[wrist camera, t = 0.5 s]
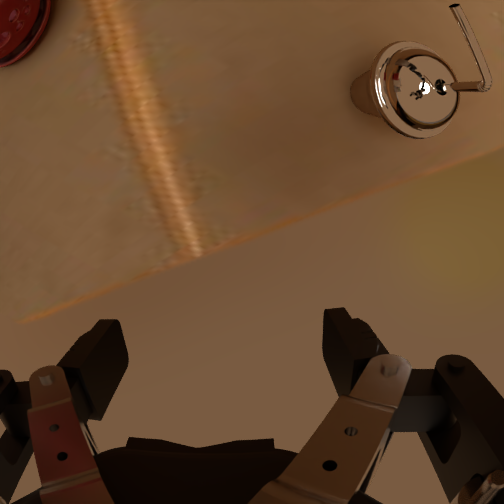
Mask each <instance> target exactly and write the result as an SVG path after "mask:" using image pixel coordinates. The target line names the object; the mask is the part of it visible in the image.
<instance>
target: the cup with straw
mask: <svg viewBox="0 0 504 504" xmlns="http://www.w3.org/2000/svg"><path fill="white" fill-rule="evenodd" d="M449 8H450V9H451V11H452V13H453V15H454V17H455V19H456V21H457V23H458V25H459V27H460V29H461V31H462V33H463V35H464V37H465V39H466V42H467V44H468V46H469V48H470V51H471V53H472V55H473V58H474V60H475V62H476V65H477V67H478V70H479V73H480V75H481V78H482V80H481V81H470V82H458V80H457V78H456V75H455V74H454V72H453V70H452V69H451V67H450V66H449V65H448V64H447V63H446V62H445V61H444V60H443V59H442V58H441V57H440V56H439V55H438V54H437V53H436V52H435V51H433V50H432V49H430V48H429V47H427V46H426V45H423V44H420V43H418V42H412V41H397V42H394V43H391V44H389V45H387V46H385V47H384V48H382V49H381V51H380V52H379V53H378V54H377V55H376V57H375V59H374V61H373V63H372V66H371V69H370V70H368V71H367V72H365V73H363V74H362V75H360V76H359V77H357V78H356V79H355V80H354V81H353V83H352V85H351V88H350V96H351V100H352V102H353V104H354V105H355V107H356V108H357V109H358V110H360V111H361V112H363V113H366V114H369V115H373V116H376V117H380V118H382V119H383V120H384V121H385V122H386V123H387V124H388V125H389V126H390V127H391V128H392V129H393V130H395V131H396V132H397V133H399V134H401V135H403V136H405V137H409V138H413V139H424V138H429V137H433V136H435V135H437V134H440V133H441V132H442V131H443V130H445V129H446V128H447V126H448V125H449V124H450V122H451V120H452V118H453V116H454V114H455V113H456V111H457V109H458V106H459V102H460V92H486V91H487V90H489V89H490V87H491V85H492V77H491V74H490V71H489V68H488V66H487V63H486V61H485V58H484V55H483V53H482V51H481V48H480V46H479V44H478V41H477V39H476V37H475V34H474V32H473V30H472V28H471V26H470V24H469V22H468V20H467V18H466V16H465V14H464V12H463V10H462V8H461V6H460V4H452V5H450V6H449Z"/></svg>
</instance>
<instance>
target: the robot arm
mask: <svg viewBox="0 0 504 504" xmlns="http://www.w3.org/2000/svg"><path fill="white" fill-rule="evenodd" d="M322 349H323V357H324V361H325V363H326V366H327V368H328V371H329V373H330V376H331V378H332V381H333V383H334V386H335V389H336V391H337V393H338V396H339V398H338V400H337V401H336V403H335V404H334V406H333V407H332V408H331V410H330V411H329V413H328V414H327V416H326V417H325V419H324V420H323V421H322V423H321V424H320V425H319V427H318V428H317V430H316V431H315V432H314V434H313V435H312V436H311V438H310V439H309V440H308V442H307V443H306V444H305V446H304V447H303V448H302V449H301V451H300V452H299V453H295V452H292V451H288V450H283V449H275V448H274V439H273V438H272V439H258V440H238V441H232V442H227V443H223V444H218V445H212V446H208V447H201V448H194V447H190V446H185V445H181V444H177V443H173V442H169V441H165V440H159V439H145V438H134V437H129V438H128V441H127V444H126V447H119V448H114V449H110V450H107V451H104V452H101V453H100V451H99V449H98V447H97V445H96V443H95V441H94V438H93V436H92V433H91V431H90V429H89V427H88V425H87V421H88V419H92V420H99V421H101V420H102V418H103V416H104V413H105V411H106V409H107V407H108V405H109V403H110V401H111V399H112V397H113V395H114V393H115V391H116V389H117V387H118V385H119V383H120V381H121V379H122V377H123V375H124V373H125V371H126V369H127V367H128V362H129V361H128V360H129V358H128V352H127V348H126V345H125V340H124V336H123V333H122V329H121V325H120V322H119V321H118V320H117V319H105V320H104V319H101V320H99V321H98V322H97V323H96V324H95V326H94V327H93V328H92V329H91V330H90V331H88V332H87V333H85V334H83V335H82V336H80V337H79V338H78V340H77V341H76V342H75V343H74V345H73V346H72V347H71V348H70V351H68V352H67V353H66V354H65V356H64V357H63V358H62V359H61V360H60V362H59V363H58V364H57V365H56V366H54V365H53V366H46V367H42V368H40V369H38V370H36V371H35V372H34V373H33V374H32V375H31V376H30V378H29V381H24V382H15V380H14V378H13V376H12V373H11V372H10V371H8V370H0V419H1V421H2V422H3V424H4V425H5V427H6V430H5V432H4V433H3V435H2V436H1V438H0V504H9V502H10V500H11V497H12V495H13V493H14V491H15V489H16V487H17V484H18V482H19V480H20V478H21V476H22V474H23V472H24V470H25V467H26V466H27V464H28V461H29V459H30V458H31V456H32V454H33V452H34V455H35V459H36V464H37V468H38V472H39V476H40V480H41V485H42V487H41V488H39V489H37V490H36V491H34V492H32V493H30V494H28V495H26V496H25V497H23V498H21V499H19V500H17V501H15V502H13V503H11V504H382V503H380V502H379V501H377V500H375V499H374V498H372V497H370V496H368V495H367V494H366V493H367V491H368V489H369V487H370V485H371V482H372V480H373V478H374V476H375V473H376V471H377V469H378V467H379V465H380V463H381V461H382V459H383V456H384V454H385V452H386V450H387V447H388V445H389V443H390V441H391V438H392V436H393V434H394V432H417V433H418V435H419V437H420V439H421V441H422V443H423V445H424V447H425V450H426V451H427V454H428V456H429V458H430V460H431V462H432V464H433V467H434V469H435V471H436V473H437V475H438V478H439V480H440V482H441V484H442V487H443V489H444V491H445V494H446V496H447V498H448V500H449V503H450V504H504V398H503V397H502V396H501V395H500V394H499V393H498V391H497V390H496V389H495V388H494V386H493V385H492V384H491V383H490V382H489V381H488V379H487V378H486V377H485V376H484V375H483V374H482V372H481V371H480V370H479V369H478V368H477V367H476V366H475V365H474V363H473V362H472V361H471V360H469V359H468V358H466V357H463V356H460V355H445V356H442V357H440V358H439V359H438V360H437V362H436V365H435V369H412V368H411V364H410V363H409V362H408V361H407V360H406V359H405V358H403V357H401V356H397V355H392V354H389V352H388V351H387V350H386V348H385V347H384V345H383V344H382V343H381V341H380V340H379V339H378V338H377V336H376V334H375V333H374V332H373V330H372V329H371V328H370V326H369V325H368V324H367V323H365V322H364V321H362V320H360V319H359V318H356V319H352V318H351V317H350V315H349V314H348V312H347V311H346V309H345V308H344V307H342V308H332V309H325V310H324V318H323V342H322Z"/></svg>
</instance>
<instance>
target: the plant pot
mask: <svg viewBox="0 0 504 504" xmlns="http://www.w3.org/2000/svg"><path fill="white" fill-rule="evenodd" d="M50 7H51V1H50V0H0V67H5V66H8V65H10V64H12V63H14V62H16V61H17V60H19V59H20V58H21V57H23V56H24V55H25V54H26V53H27V52H28V51H29V50H30V49H31V48H32V47H33V46H34V44H35V43H36V42H37V40H38V39H39V37H40V36H41V34H42V32H43V30H44V29H45V26H46V24H47V21H48V18H49V14H50Z"/></svg>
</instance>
